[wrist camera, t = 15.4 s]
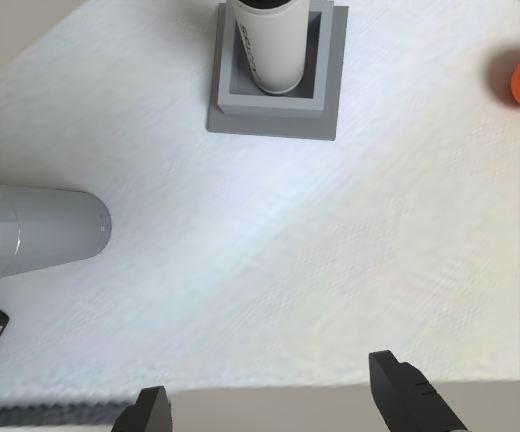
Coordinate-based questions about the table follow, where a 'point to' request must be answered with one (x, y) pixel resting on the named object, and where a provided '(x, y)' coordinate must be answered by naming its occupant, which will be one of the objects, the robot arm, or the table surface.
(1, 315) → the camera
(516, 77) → the clementine
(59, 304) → the table surface
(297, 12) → the travel mug
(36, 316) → the table surface
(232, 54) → the mug dock
